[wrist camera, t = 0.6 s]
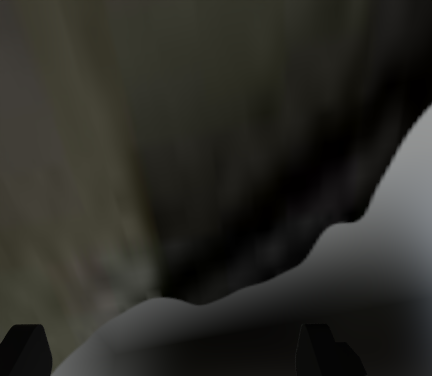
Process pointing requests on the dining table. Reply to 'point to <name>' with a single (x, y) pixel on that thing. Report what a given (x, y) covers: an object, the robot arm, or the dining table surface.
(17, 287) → the dining table surface
